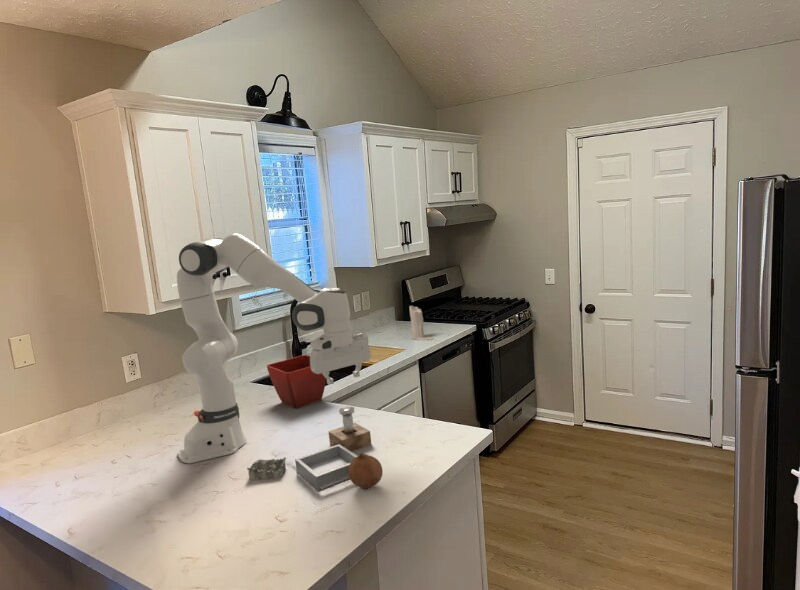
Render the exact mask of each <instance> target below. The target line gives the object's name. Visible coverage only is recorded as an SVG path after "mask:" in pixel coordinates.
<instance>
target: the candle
mask: <svg viewBox="0 0 800 590" xmlns="http://www.w3.org/2000/svg"><path fill="white" fill-rule="evenodd" d="M423 316H424V315H423V311H422V308H419V307H418V306H414V305H409V317H410V324H411V325H410V326H411V328H410V329H411V339H412V340H419V341H429V340H430V341H431V340H434V339H435V338H434V337H431V336H425V332H424V317H423Z"/></svg>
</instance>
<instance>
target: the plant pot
mask: <svg viewBox="0 0 800 590" xmlns="http://www.w3.org/2000/svg"><path fill="white" fill-rule="evenodd" d="M266 369H267V371H268V374H269V378H270V380H271V383H272V385H273V387H274V389H275V392H276V394H277V396H278V398H279V399H280V401H281V403H283V404H284V405H287V406H289V407H290V408H293V409H300V408H302V407H306V406H308V405H312V404H313V403H318V402H320V401H322V399H323V396H324V392H325V389H326V388H325V387H326V384H327V379H326V378H325V376H324V375H323V373H320V374H316V373H314V372H313V371H312V370H311V366H310V355H308V354H303V355H298V356H295V357H292V358H288V359H283V360H281V361H277V362H273V363H270V364H269V363H268V364H267V365H266Z"/></svg>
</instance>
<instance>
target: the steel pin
mask: <svg viewBox="0 0 800 590" xmlns="http://www.w3.org/2000/svg"><path fill="white" fill-rule="evenodd" d="M338 412H339V415H341V416H342V425H343V426H342V427H344V434H346V435H348V434H351V433H354V426H353V423H354V420H353V414H354V413H355V407H354V406H343V407H341V408H339V411H338Z"/></svg>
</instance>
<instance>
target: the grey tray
mask: <svg viewBox="0 0 800 590" xmlns="http://www.w3.org/2000/svg"><path fill="white" fill-rule="evenodd" d="M338 456H339V457H341V458H343V459H344V460H345V461H347V462H348V463H345V464H344V465H340V466H338V467H335V468H332V469H329V470H327V471H324V472H320V473H317V472H316V471H315V470H313V469H312V468H311V467H310V466H312V465H315V464H318V463H322V462H323V461H327V460H329V459H332V458H335V457H338ZM357 456H358V455H357V454H356V453H354V452H353V451H352V452H351V451H349V450H348V449H346V448H345V447H343V446H342V445H340V444H338V445H335V446H330V447H326V448H323V449H320V450H318V451H314V452H313V453H309V454H307V455H303V456H300V457H298V458H295V459H294V461H295V462H294V463H295V470H296V474H297V475H298V477H300V478H301V479H303V480H304V481H305V482H306V483H307V484H308V485H309V486H310V487H312V488H313V489H314V490H315V491H316V492H317V493H319V492H322V491H325V490H327V489H330V488H332V487H336V486H338V485H340V484H342V483H345V482H348V481H351V480H350V478H349V474H348V469H349V465H350V463H351V461H352V460H353V459H354V458H355V457H357ZM345 477H347V478H346V479H345ZM343 478H344V479H343ZM340 479H343V480H341V481H338V482H336V483H333V484H330V483H332V482H335V481H337V480H340ZM328 484H330V485H328ZM324 485H327V486H325V487H322V486H324ZM321 487H322V488H321Z"/></svg>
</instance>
